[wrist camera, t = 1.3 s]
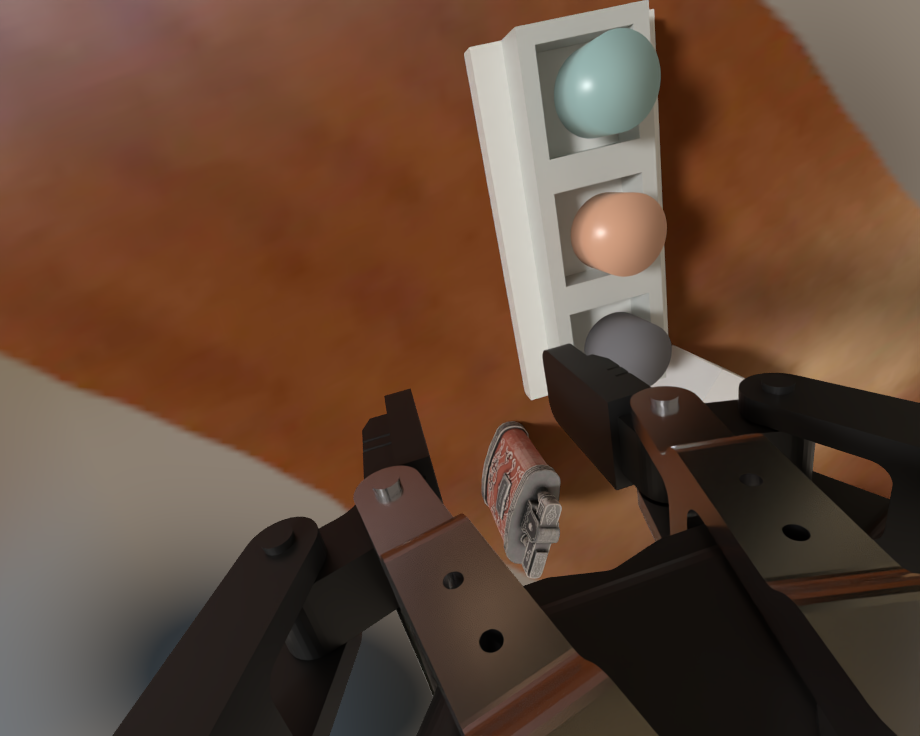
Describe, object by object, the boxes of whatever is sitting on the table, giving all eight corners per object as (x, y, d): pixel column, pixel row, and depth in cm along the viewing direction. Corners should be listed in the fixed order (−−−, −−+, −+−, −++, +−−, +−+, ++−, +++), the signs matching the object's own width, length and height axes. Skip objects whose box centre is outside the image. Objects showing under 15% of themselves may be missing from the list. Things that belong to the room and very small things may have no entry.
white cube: (722, 366, 42) (777, 393, 37) (686, 424, 44) (735, 458, 38) (671, 344, 40) (722, 369, 35) (636, 405, 42) (680, 438, 36)
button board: (464, 53, 29) (479, 34, 26) (640, 16, 31) (680, -8, 27) (524, 392, 39) (543, 414, 35) (658, 353, 40) (689, 370, 36)
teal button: (548, 53, 26) (570, 38, 24) (627, 36, 27) (658, 19, 24) (559, 146, 28) (581, 142, 25) (633, 129, 29) (662, 122, 26)
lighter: (494, 419, 39) (537, 490, 30) (532, 422, 40) (585, 492, 31) (475, 501, 42) (509, 590, 32) (511, 503, 42) (554, 590, 33)
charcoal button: (580, 322, 33) (601, 334, 30) (644, 303, 33) (670, 314, 30) (587, 383, 34) (608, 400, 32) (648, 365, 35) (673, 380, 32)
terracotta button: (566, 201, 29) (588, 203, 27) (636, 184, 30) (665, 183, 27) (575, 277, 31) (596, 285, 29) (641, 258, 32) (668, 265, 29)
